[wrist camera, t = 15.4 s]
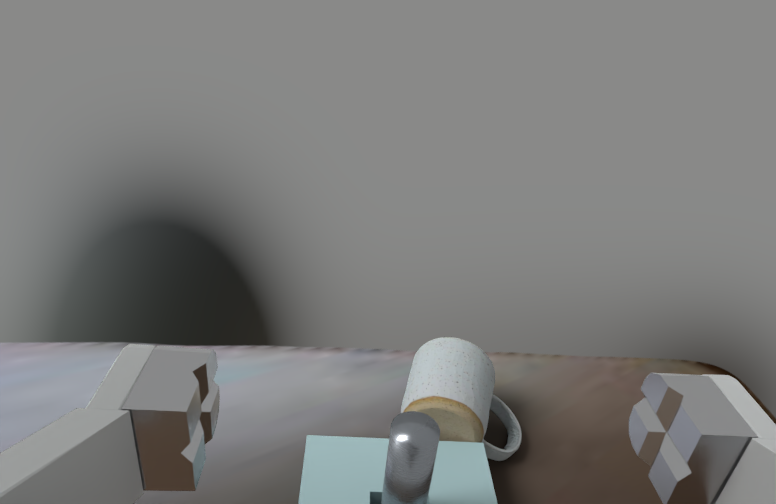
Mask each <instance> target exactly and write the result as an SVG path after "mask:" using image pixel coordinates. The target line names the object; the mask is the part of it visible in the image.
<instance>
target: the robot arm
mask: <svg viewBox="0 0 776 504" xmlns="http://www.w3.org/2000/svg"><path fill="white" fill-rule="evenodd" d="M217 368H218V366H217V357H216V352H215V351H214V350H211V349H197V348H184V347H171V346H152V345H137V344H129V345H127V346H126V347H124V348H123V349H122V351H121V352H120V354H119V355H118V357H117V359H116V360H115V362H114V363H113V365H112V367H111V368H110V370H109V371H108V373H107V375H106V376H105V378H104V380H103V381H102V383H101V384H100V386H99V388H98V389H97V391H96V392H95V394H94V396H93V397H92V399H91V400H90V402H89V404H88V405H87V407H86V408H85V409H84V408H76V409H74V410H73V411H71V412H69V413H68V414H66V415H64V416H62V417H61V418H59V419H57V420H56V421H54V422H52V423H51V424H49V425H47V426H46V427H44V428H42V429H40V430H39V431H37V432H35V433H34V434H32V435H30V436H29V437H27V438H25V439H23V440H22V441H20V442H18V443H17V444H15V445H13V446H12V447H10V448H8V449H6V450H5V451H3V452H1V453H0V504H133V503H134V502H135V501H136V500H137V499H138V498H139V497H141V496H142V495H143V494H144V491H143V490H158V491H195V490H196V487H197V484H198V481H199V478H200V475H201V472H202V469H203V466H204V463H205V460H206V455H205V444H206V443H207V442H208V441H210V440H211V439H212V438H213V435H214V431H215V428H216V424H217V418H218V412H219V398H220V396H219V386H218V385H217V384H216V383H215V382H214V381H213V379H214V376H215V373H216V371H217ZM641 390H642V392H643V394H644V396H645V398H644V399H643V400H641V401H640V402H639V403H637V404H636V405H635V406H634V407H633V410H632V412H631V415H630V418H629V435H630V439H631V443H632V446H633V448H634V450H635V452H636V454H637V455H638V456H639V457H640V458H641V459H642V460H644V461H645V462H646V463H648V464H649V465H650V466H651V468H650V471H649V475H648V476H649V478H650V480H651V482H652V484H653V485H654V487H655V489H656V491H657V493H658V495H659V496H660V498H661V500H662V502H663V504H776V425H775V423H774V422H773V421H772V420H771V419H770V418H769V416H768V415H767V414H766V413H765V412H764V411H763V410H762V408H761V407H760V406H759V405H758V404H757V403H756V401H755V400H754V399H753V398H752V397H751V396H750V395H749V393H748V392H747V391H746V390H745V389H744V388H743V386H742V385H741V384H740V383H739V382H738V381H737V380H736V379H734V378H733V377H731V376H729V375H688V374H666V373H651V374H649V375H648V376H647V377H646V378H645V380H644V383H643V385H642V387H641Z"/></svg>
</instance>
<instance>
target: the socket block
mask: <svg viewBox="0 0 776 504" xmlns="http://www.w3.org/2000/svg"><path fill="white" fill-rule="evenodd" d="M388 445H389V439H384V438H361V437H337V436H314V435H307V440H306V448H305V456H304V464H303V472H302V480H301V488H300V495H299V503H298V504H381V498H382V490H383V483H384V475H385V468H386V460H387V452H388ZM427 504H498V503H497V499H496V495H495V490H494V486H493V482H492V478H491V473H490V469H489V465H488V460H487V456H486V452H485V448H484V443H478V442H455V441H439V443H438V448H437V454H436V459H435V464H434V469H433V474H432V480H431V485H430V490H429V495H428V500H427Z"/></svg>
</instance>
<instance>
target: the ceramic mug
mask: <svg viewBox="0 0 776 504" xmlns="http://www.w3.org/2000/svg"><path fill="white" fill-rule="evenodd" d="M494 384H495V370H494V367H493V364H492V361H491V360H490V359H489V357H488V356H487V355H486V354H485V352H484V351H482V350H481V349H480V348H479V347H477V346H476V345H474V344H472V343H470V342H468V341H466V340H462V339H459V338H452V337H447V338H445V337H443V338H437V339H433V340H431V341H429V342H427V343H426V344H424V345H423V346H422V347H421V348H420V349H419V350H418V351H417V353H416V354H415V356H414V359H413V364H412V368H411V371H410V375H409V379H408V383H407V388H406V391H405V395H404V398H403V402H402V406H401V413H404V412H408V411H417V412H421V413H424V414H427V415H429V416H430V417H432V418H433V419H434V420H435V421H436V422H437V424H438V426H439V428H440V438H439V441H455V442H478V443H484V448H485V452H486V456H487V458H489V459H491V460H495V461H502V460H505V459H507V458H509V457H510V456H511V455H512V454H513V453H514V452H515V451H517V450H518V448H519V446H520V444H521V438H522V432H521V428H520V425H519V422H518V420H517V418H516V417H515V415H514V414H513V412H512V411H511V410H510V409H509V407H508V406H507V405H506V404H505V403H504V402H503V401H502V400H501V399H499V398H498V397H497V396H496V395H494V394H493V389H494ZM489 410H491V411H493V412H494V413H495V414H496V415H497V417H498V418H499V419H500V420H501V421H502V423H503V424H504V426H505V428H506V429H507V433H508V440H507V445H506V446H505V447H504V449H500V448H498V447H495V446H493V445H491V444H490V443H488V442H486V441H485V440H484V436H485V433H486V430H487V425H488V419H489Z"/></svg>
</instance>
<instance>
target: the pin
mask: <svg viewBox="0 0 776 504" xmlns="http://www.w3.org/2000/svg"><path fill="white" fill-rule="evenodd" d="M439 438H440V428H439V426H438V424H437V422H436V421H435V420H434V419H433V418H432V417H430V416H429V415H427V414H424V413H421V412H417V411H408V412H404V413H401V414H399V415H397V416H396V417H395V418H394V420H393V421H392V423H391V429H390V437H389V445H388V452H387V460H386V468H385V475H384V483H383V490H382V498H381V504H427V500H428V495H429V490H430V485H431V480H432V474H433V469H434V464H435V459H436V454H437V448H438V443H439Z"/></svg>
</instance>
